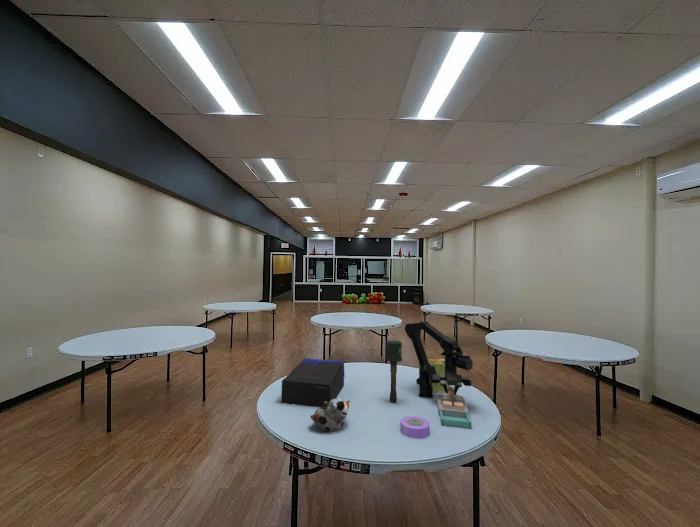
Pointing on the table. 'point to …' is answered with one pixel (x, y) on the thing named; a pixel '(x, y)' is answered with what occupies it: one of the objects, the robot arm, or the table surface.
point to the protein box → (440, 370)
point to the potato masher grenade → (393, 364)
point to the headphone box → (313, 382)
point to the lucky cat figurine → (331, 414)
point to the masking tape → (414, 426)
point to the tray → (455, 421)
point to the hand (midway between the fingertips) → (450, 397)
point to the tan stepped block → (451, 396)
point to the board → (452, 411)
